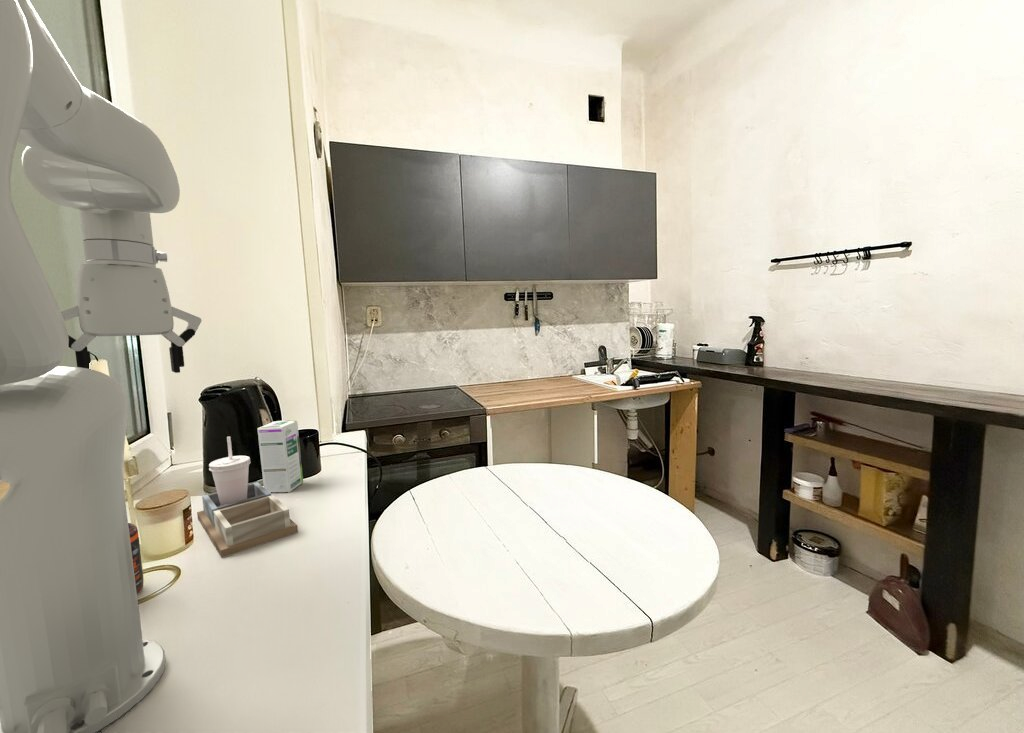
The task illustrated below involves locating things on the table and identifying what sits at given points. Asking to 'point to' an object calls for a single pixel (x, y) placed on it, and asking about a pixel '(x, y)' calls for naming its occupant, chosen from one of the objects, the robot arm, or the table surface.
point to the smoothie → (231, 476)
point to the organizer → (245, 520)
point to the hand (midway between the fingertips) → (135, 375)
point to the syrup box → (280, 456)
